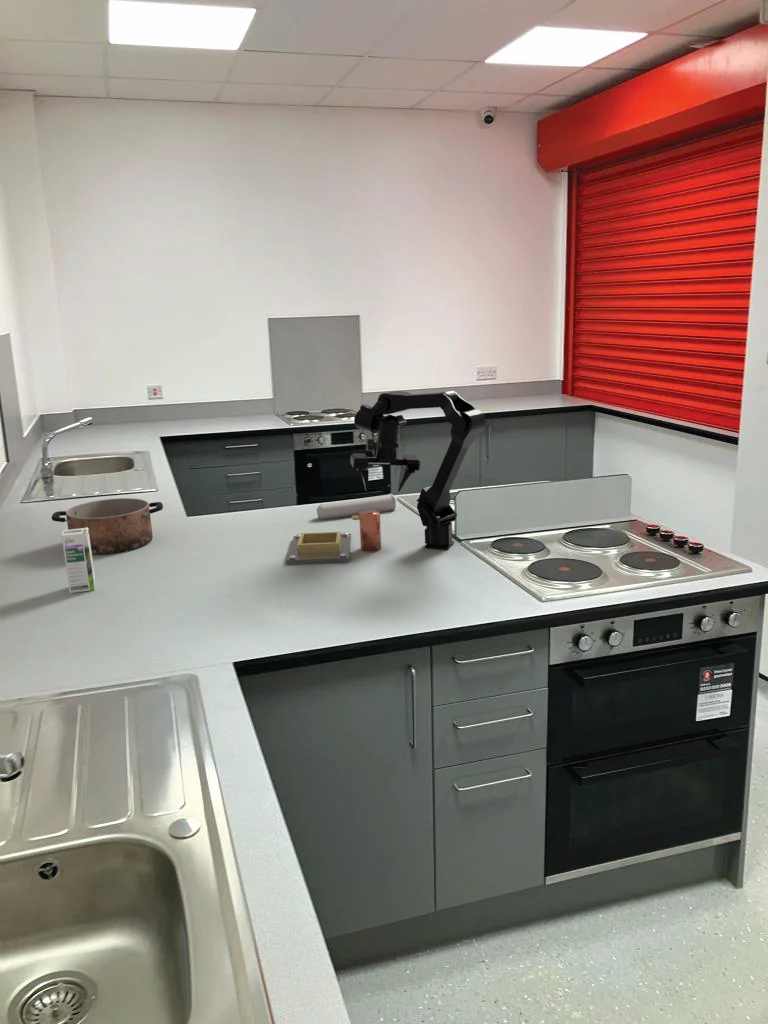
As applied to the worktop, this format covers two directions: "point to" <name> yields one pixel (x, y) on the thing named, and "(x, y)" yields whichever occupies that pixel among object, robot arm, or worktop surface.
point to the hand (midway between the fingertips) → (382, 490)
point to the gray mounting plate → (319, 548)
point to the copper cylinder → (369, 530)
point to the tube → (356, 506)
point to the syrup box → (78, 560)
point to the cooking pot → (113, 523)
